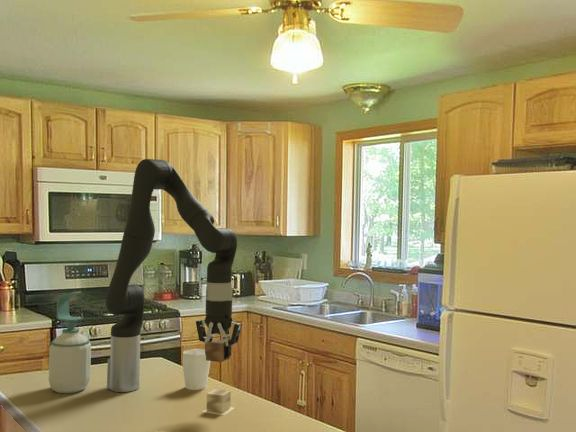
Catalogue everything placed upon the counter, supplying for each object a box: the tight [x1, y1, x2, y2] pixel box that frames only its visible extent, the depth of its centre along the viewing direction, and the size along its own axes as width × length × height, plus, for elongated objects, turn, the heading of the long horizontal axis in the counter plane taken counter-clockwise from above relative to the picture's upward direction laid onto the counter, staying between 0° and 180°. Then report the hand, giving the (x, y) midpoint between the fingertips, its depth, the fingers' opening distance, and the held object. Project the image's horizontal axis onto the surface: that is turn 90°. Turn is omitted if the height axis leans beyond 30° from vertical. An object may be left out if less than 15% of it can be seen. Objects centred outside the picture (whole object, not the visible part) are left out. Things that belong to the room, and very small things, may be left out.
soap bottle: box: [48, 290, 92, 394], centre depth 183 cm, size 12×12×31 cm
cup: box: [181, 348, 211, 391], centre depth 187 cm, size 9×9×12 cm
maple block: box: [206, 388, 232, 414], centre depth 165 cm, size 5×5×5 cm
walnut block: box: [206, 338, 231, 363], centre depth 164 cm, size 5×5×5 cm
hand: (218, 357), depth 164 cm, fingers closed on walnut block, 5 cm apart
